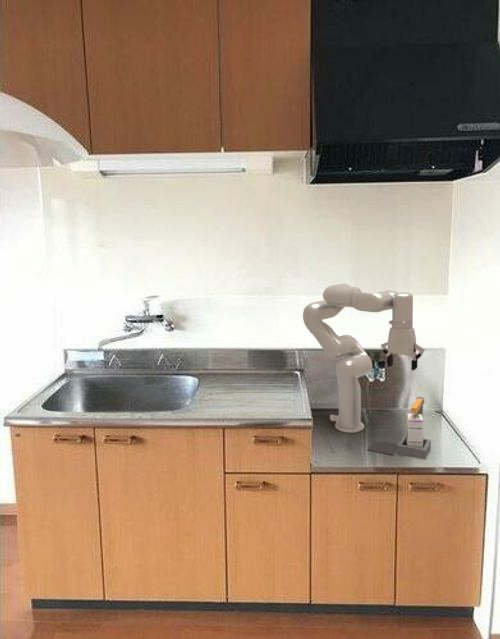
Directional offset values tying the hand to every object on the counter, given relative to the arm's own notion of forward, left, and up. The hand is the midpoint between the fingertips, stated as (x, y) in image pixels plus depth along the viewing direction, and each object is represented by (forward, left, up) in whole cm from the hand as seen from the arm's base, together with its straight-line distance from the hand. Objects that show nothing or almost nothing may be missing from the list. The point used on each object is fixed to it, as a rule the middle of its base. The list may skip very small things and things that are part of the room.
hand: (402, 367), depth 194 cm
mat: (-5, -5, -32) cm, 33 cm away
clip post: (+6, +6, -32) cm, 33 cm away
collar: (+6, -3, -32) cm, 33 cm away
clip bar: (+6, +1, -16) cm, 17 cm away
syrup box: (+6, -3, -33) cm, 33 cm away
